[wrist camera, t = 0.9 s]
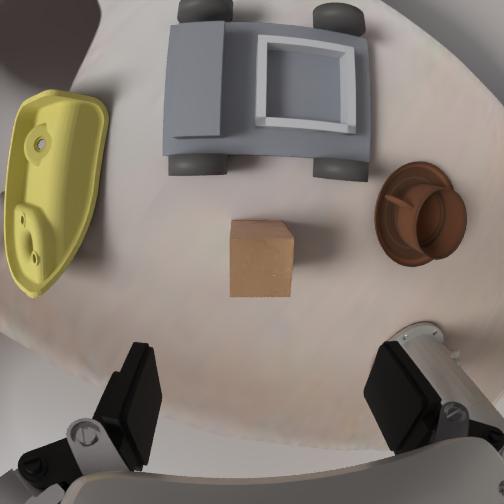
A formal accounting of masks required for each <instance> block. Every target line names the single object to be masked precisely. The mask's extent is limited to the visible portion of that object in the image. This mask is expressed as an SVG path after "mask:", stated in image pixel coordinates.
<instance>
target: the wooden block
mask: <svg viewBox="0 0 504 504" xmlns="http://www.w3.org/2000/svg"><path fill="white" fill-rule="evenodd" d="M293 253H294V237H293V236H292V235H291V233H290V232H289V230H288V229H287V228H286V226H285V225H284V224H283V222H282V221H269V220H232V221H231V231H230V297H290V293H291V280H292V267H293Z"/></svg>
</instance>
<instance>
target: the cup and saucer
mask: <svg viewBox="0 0 504 504" xmlns="http://www.w3.org/2000/svg"><path fill="white" fill-rule="evenodd" d="M466 224H467V214H466V208H465V205H464V202H463V200H462V198H461V197H460V196H459V194H458V193H457V192H455V191H454V189H453V186H452V184H451V182H450V180H449V179H448V177H447V176H446V175H445V173H444V172H443V171H442V170H440V169H439V168H438V167H436V166H435V165H433V164H430V163H427V162H412V163H408V164H406V165H403V166H401V167H400V168H398V169H397V170H395V171H394V172H393V173H392V174H391V175H390V176H389V177H388V179H387V180H386V181H385V183H384V185H383V186H382V188H381V190H380V193H379V195H378V199H377V202H376V207H375V230H376V234H377V238H378V240H379V243H380V245H381V247H382V248H383V250H384V251H385V253H386V254H387V255H388V256H389V257H390V258H391V259H392V260H393V261H395V262H396V263H398V264H400V265H403V266H408V267H416V266H421V265H424V264H427V263H429V262H430V261H432V260H433V259H435V260H439V259H443V258H446V257H448V256H449V255H451V254H452V253H453V252H454V251H455V250H456V249H457V248H458V246H459V245H460V243H461V241H462V239H463V237H464V234H465V230H466Z"/></svg>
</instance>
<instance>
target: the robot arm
mask: <svg viewBox="0 0 504 504" xmlns="http://www.w3.org/2000/svg"><path fill="white" fill-rule="evenodd" d="M459 356H460V350H459V349H454V350H451V351H449V350H448V349H447V348H446V347H445V346H444V336H443V333H442V332H441V330H440V329H439V328H438V327H437V326H435V325H434V324H431V323H426V322H422V323H416V324H413V325H410V326H408V327H406V328H404V329H403V330H401V331H400V332H398V333H397V334H395V335H394V336H393V337H392V338H391V339H390V340H389V341H386V342H384V343H383V344H382V345H381V346H380V347H379V349H378V352H377V355H376V358H375V360H374V362H373V365H372V369H371V372H370V375H369V377H368V380H367V383H366V385H365V388H364V397H365V399H366V401H367V403H368V405H369V407H370V409H371V411H372V413H373V415H374V417H375V419H376V422H377V424H378V426H379V428H380V430H381V432H382V434H383V436H384V438H385V440H386V442H387V445H388V447H389V449H390V450H391V451H394V453H395V456H392V457H389V458H385V459H381V460H377V461H373V462H369V463H365V464H360V465H356V466H351V467H346V468H341V469H336V470H330V471H324V472H317V473H310V474H302V475H292V476H281V477H267V478H203V477H186V476H175V475H164V474H155V473H145V472H134V470H136V471H142V468H143V465H147V464H148V460H149V456H150V451H151V447H152V442H153V437H154V433H155V428H156V424H157V419H158V415H159V411H160V406H161V402H162V392H161V387H160V382H159V377H158V372H157V366H156V360H155V355H154V349H153V347H149V344H148V343H139V342H134V343H133V345H132V347H131V349H130V351H129V353H128V355H127V358H126V360H125V362H124V364H123V366H122V369H121V371H120V372H117V371H115V372H113V374H112V376H111V378H110V380H109V382H108V384H107V386H106V389H105V391H104V393H103V395H102V397H101V400H100V402H99V404H98V406H97V409H96V411H95V413H94V416H93V418H92V419H89V418H82V419H78V420H76V421H74V422H73V423H71V424H70V426H69V427H68V429H67V433H66V436H67V438H64V439H62V440H59V441H56V442H54V443H51V444H48V445H46V446H43V447H40V448H37V449H35V450H32V451H29V452H27V453H25V454H23V455H22V456H21V457H20V459H19V461H18V469H16V470H15V471H14V470H13V469H11V470H9V471H8V472H7V473H5V474H4V475H2V476H1V477H0V504H504V418H503V417H502V416H501V414H500V413H499V412H498V411H497V410H496V408H495V407H494V406H493V405H492V404H491V402H490V401H489V400H488V399H487V398H486V396H485V395H484V394H483V393H482V392H481V390H480V389H479V388H478V387H477V386H476V385H475V383H474V382H473V381H472V380H471V379H470V378H469V376H468V375H467V374H466V373H465V372H464V371H463V370H462V369H461V367H460V361H459V359H453V358H456V357H459Z"/></svg>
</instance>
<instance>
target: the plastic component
mask: <svg viewBox="0 0 504 504" xmlns="http://www.w3.org/2000/svg"><path fill="white" fill-rule="evenodd" d="M108 124H109V115H108V111H107V109H106V107H105V105H104V104H103V103H102V102H101V101H100V100H99V99H97V98H95V97H91V96H86V95H82V94H77V93H72V92H66V91H61V90H46V91H44V92H42V93H39V94H37V95H35V96H33V97H31V98H29V99H27V100H25V101H24V102H23V103H22V105H21V107H20V109H19V111H18V113H17V116H16V119H15V123H14V128H13V133H12V138H11V144H10V151H9V159H8V167H7V176H6V187H5V203H4V238H5V250H6V256H7V261H8V265H9V269H10V272H11V274H12V277H13V279H14V281H15V283H16V284H17V285H18V287H19V288H20V289H21V290H22V291H24V292H25V293H26V294H27V295H28V296H29V297H30V298H36V297H39V296H41V295H42V294H43V293H45V292H46V291H47V290H48V289H49V288H50V287H51V286H52V285H53V284H54V283H55V282H56V281H57V280H58V279H59V277H60V276H61V275H62V274H63V273H64V271H65V270H66V268H67V267H68V265H69V264H70V263H71V261H72V259H73V258H74V256H75V254H76V253H77V251H78V249H79V247H80V245H81V243H82V241H83V239H84V237H85V235H86V232H87V230H88V227H89V224H90V221H91V218H92V215H93V212H94V208H95V204H96V199H97V195H98V187H99V179H100V171H101V164H102V158H103V151H104V145H105V140H106V135H107V129H108ZM43 139H44V140H45V142H46V144H45V147H44V148H43V149H41V150H40V149H39V148H38V144H39V142H40V141H41V140H43Z"/></svg>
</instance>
